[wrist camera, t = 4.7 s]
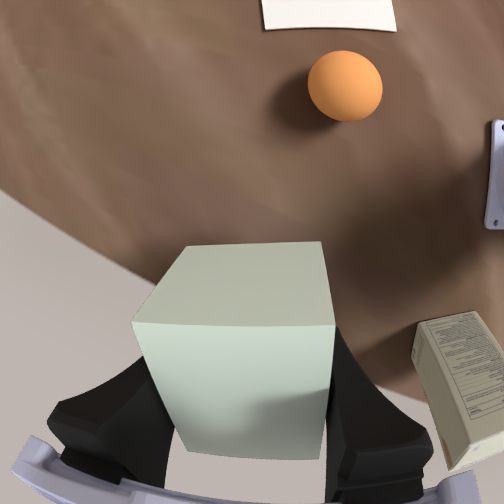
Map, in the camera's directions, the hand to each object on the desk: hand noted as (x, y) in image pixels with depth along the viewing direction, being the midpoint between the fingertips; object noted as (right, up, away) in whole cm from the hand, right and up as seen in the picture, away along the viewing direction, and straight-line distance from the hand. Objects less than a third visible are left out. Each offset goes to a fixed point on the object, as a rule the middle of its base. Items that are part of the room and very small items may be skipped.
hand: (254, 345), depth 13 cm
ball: (+5, +13, +1) cm, 14 cm away
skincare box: (+17, -3, +9) cm, 19 cm away
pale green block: (0, +1, +1) cm, 2 cm away
